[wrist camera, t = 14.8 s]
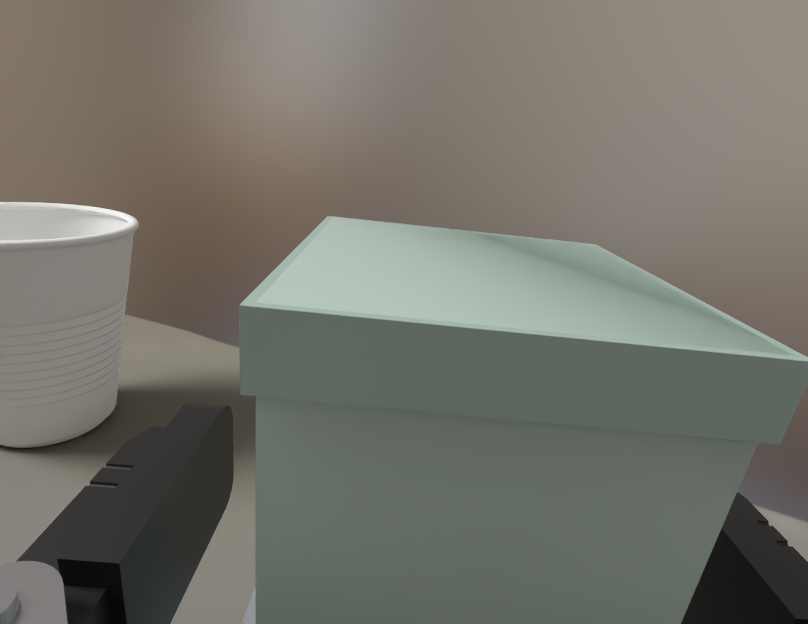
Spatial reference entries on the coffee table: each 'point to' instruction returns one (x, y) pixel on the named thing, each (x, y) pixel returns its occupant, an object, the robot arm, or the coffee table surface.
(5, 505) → the coffee table surface
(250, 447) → the coffee table surface
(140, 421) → the coffee table surface
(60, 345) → the cup
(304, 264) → the cover
